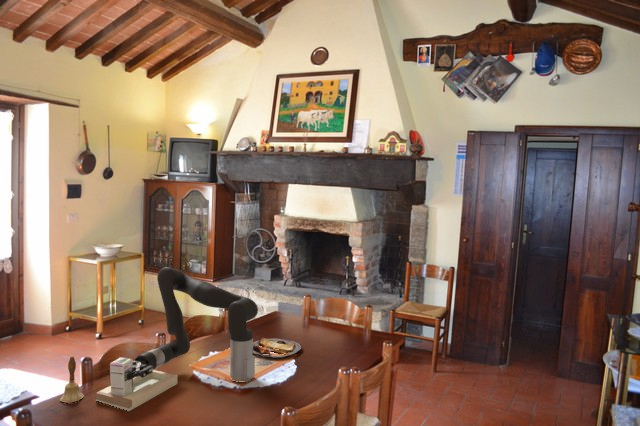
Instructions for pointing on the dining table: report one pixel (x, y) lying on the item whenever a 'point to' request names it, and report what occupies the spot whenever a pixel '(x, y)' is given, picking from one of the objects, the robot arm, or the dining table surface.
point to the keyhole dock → (139, 390)
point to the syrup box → (121, 377)
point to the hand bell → (71, 385)
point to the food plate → (275, 343)
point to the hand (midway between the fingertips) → (118, 375)
